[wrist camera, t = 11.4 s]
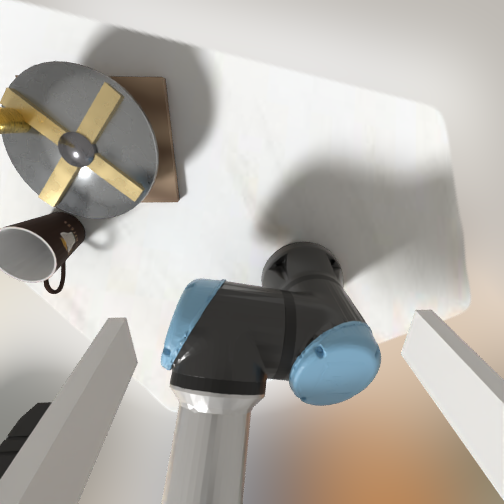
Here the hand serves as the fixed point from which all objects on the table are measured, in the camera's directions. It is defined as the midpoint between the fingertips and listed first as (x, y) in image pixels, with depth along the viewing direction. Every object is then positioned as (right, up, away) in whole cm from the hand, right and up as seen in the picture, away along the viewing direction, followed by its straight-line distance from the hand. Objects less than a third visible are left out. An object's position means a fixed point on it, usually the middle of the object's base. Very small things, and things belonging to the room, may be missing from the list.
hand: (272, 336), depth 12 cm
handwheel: (-22, +17, +22) cm, 36 cm away
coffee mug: (-34, +7, +34) cm, 48 cm away
